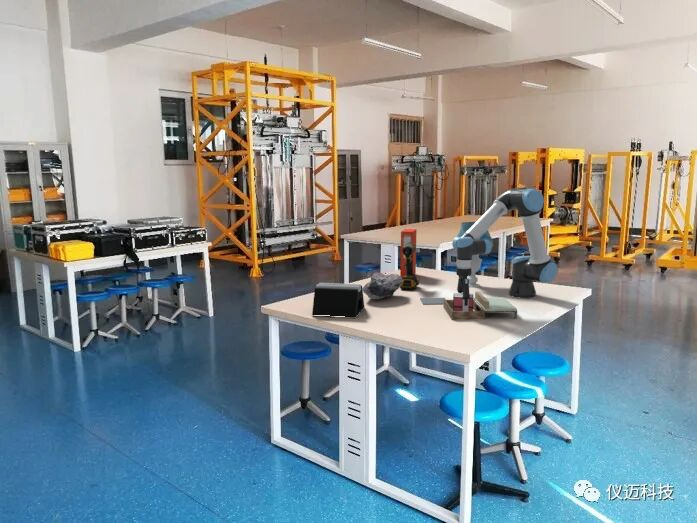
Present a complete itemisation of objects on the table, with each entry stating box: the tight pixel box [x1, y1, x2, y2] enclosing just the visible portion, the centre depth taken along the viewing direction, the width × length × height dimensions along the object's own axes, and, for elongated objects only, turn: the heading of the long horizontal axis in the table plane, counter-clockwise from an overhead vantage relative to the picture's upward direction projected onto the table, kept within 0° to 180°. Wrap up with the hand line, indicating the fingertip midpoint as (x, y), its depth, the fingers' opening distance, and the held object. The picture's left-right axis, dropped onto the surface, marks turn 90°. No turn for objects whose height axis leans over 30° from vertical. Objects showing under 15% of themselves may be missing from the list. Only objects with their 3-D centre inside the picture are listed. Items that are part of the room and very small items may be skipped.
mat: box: [420, 297, 447, 306], centre depth 316 cm, size 14×14×1 cm
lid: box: [473, 291, 518, 312], centre depth 289 cm, size 16×25×4 cm, turn 0°
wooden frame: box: [443, 299, 518, 321], centre depth 289 cm, size 32×25×4 cm
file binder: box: [399, 228, 418, 278], centre depth 387 cm, size 8×17×32 cm, turn 164°
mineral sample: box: [362, 272, 402, 300], centre depth 323 cm, size 27×19×15 cm
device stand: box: [311, 282, 365, 318], centre depth 295 cm, size 22×22×15 cm
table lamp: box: [456, 221, 494, 288], centre depth 352 cm, size 24×24×40 cm
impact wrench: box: [399, 242, 420, 291], centre depth 349 cm, size 14×21×28 cm, turn 163°
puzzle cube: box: [452, 292, 475, 311], centre depth 289 cm, size 10×10×10 cm
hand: (462, 308), depth 289 cm, fingers open, 13 cm apart
